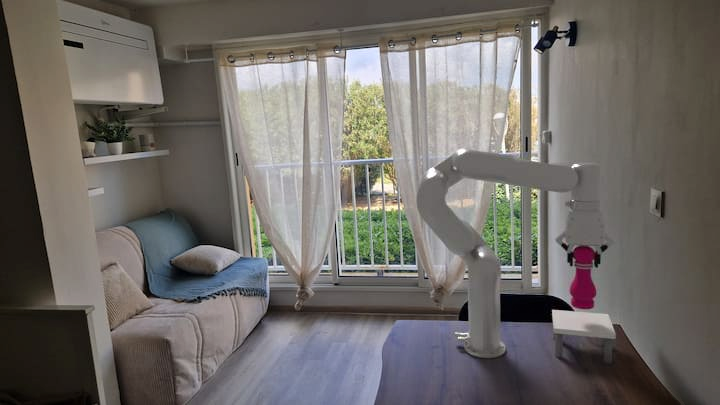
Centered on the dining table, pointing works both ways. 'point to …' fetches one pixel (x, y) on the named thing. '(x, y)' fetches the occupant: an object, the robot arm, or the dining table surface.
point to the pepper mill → (583, 278)
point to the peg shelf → (583, 329)
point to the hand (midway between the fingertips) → (583, 265)
